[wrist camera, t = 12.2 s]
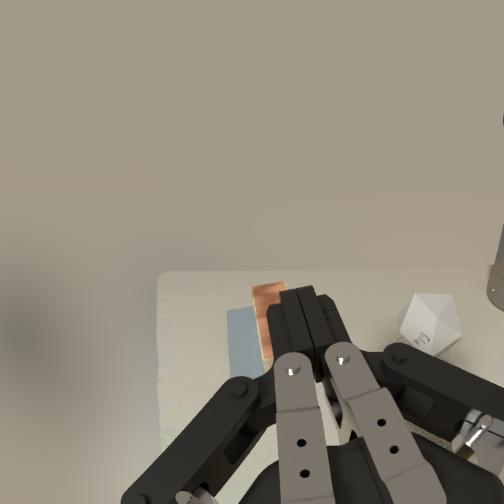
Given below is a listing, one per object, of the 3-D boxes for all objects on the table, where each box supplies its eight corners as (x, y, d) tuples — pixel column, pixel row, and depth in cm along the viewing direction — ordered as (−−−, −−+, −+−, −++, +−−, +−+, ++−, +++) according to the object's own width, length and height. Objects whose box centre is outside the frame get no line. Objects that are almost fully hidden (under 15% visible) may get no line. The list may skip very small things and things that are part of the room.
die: (381, 335, 42) (386, 325, 33) (419, 289, 42) (432, 267, 33) (422, 373, 37) (438, 372, 29) (460, 324, 38) (483, 311, 29)
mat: (314, 298, 50) (314, 294, 50) (339, 363, 38) (340, 360, 38) (227, 314, 50) (226, 310, 50) (232, 384, 38) (230, 380, 38)
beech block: (308, 377, 36) (287, 306, 48) (307, 351, 34) (284, 280, 46) (267, 385, 36) (255, 312, 48) (262, 359, 34) (250, 286, 46)
